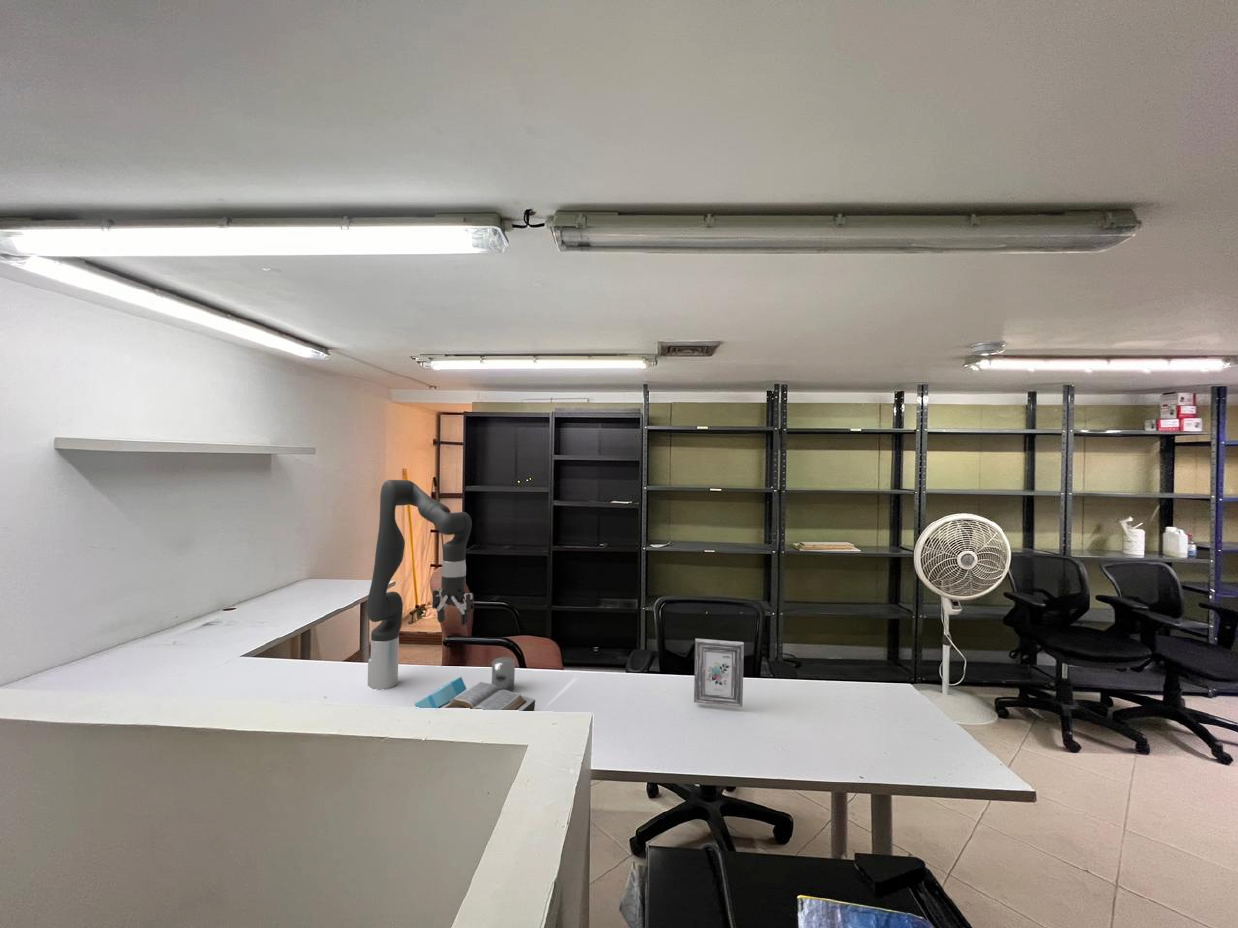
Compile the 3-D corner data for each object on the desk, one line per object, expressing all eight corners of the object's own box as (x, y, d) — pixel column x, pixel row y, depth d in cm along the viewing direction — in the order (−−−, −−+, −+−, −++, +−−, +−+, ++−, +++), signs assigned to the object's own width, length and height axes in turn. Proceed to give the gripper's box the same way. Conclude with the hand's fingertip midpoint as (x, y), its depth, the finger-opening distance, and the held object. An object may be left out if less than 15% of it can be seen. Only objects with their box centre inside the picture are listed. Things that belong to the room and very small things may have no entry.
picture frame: (693, 702, 170) (695, 640, 170) (693, 699, 172) (695, 638, 172) (742, 707, 167) (744, 644, 167) (742, 704, 170) (743, 641, 170)
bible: (485, 698, 170) (486, 670, 170) (544, 722, 155) (544, 691, 155) (427, 728, 151) (427, 695, 151) (487, 758, 136) (488, 722, 136)
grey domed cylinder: (487, 691, 174) (487, 663, 174) (499, 682, 182) (499, 655, 182) (507, 695, 172) (507, 666, 172) (518, 685, 180) (518, 658, 180)
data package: (438, 690, 153) (412, 704, 156) (444, 703, 152) (417, 718, 155) (463, 675, 164) (437, 688, 167) (468, 687, 163) (443, 701, 167)
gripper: (427, 574, 158) (426, 624, 158) (465, 578, 153) (464, 629, 153) (442, 569, 165) (441, 617, 165) (479, 573, 161) (478, 622, 161)
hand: (452, 623), depth 159 cm, fingers open, 8 cm apart
